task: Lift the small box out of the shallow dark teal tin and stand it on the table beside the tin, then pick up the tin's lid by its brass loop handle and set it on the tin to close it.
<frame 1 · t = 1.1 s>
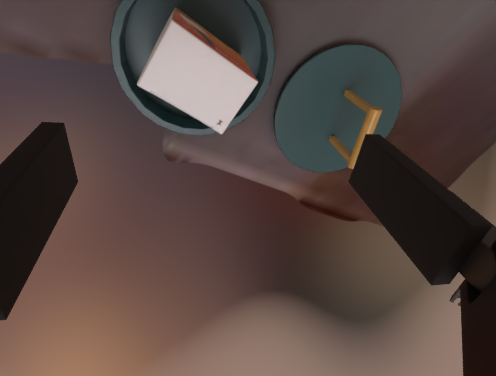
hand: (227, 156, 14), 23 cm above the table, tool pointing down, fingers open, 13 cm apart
tin: (195, 54, 32), on the table
tin lid: (337, 115, 38), point 1 cm above the table
small box: (195, 54, 32), resting on tin
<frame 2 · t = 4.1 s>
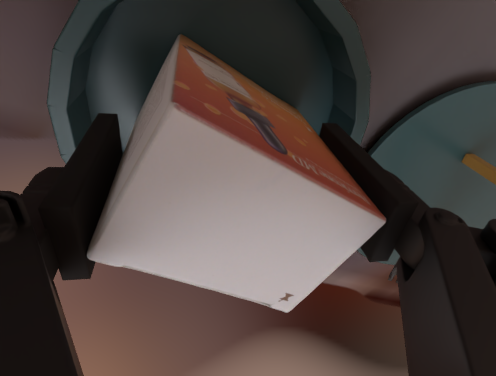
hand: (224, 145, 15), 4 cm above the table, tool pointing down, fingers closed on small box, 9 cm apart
tin: (218, 113, 18), on the table
tin lid: (442, 188, 24), point 1 cm above the table
small box: (218, 113, 18), resting on tin, touching gripper
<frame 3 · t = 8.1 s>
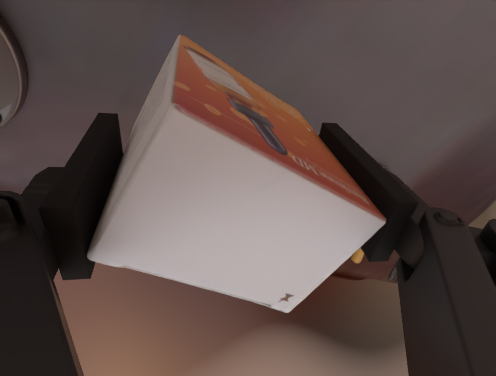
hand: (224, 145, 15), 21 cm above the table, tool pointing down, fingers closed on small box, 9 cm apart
small box: (218, 113, 18), point 17 cm above the table, touching gripper
when the fingers open (4 cm above the table, at t = 12.4 s): small box stays where it is, on the table.
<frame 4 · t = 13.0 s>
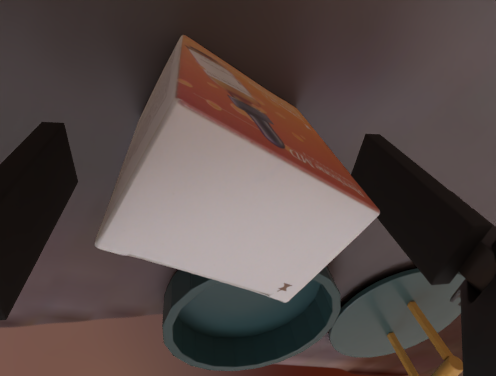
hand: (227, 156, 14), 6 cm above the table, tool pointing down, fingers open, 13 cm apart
tin: (249, 295, 29), on the table
tin lid: (397, 315, 35), point 1 cm above the table
small box: (219, 112, 18), on the table
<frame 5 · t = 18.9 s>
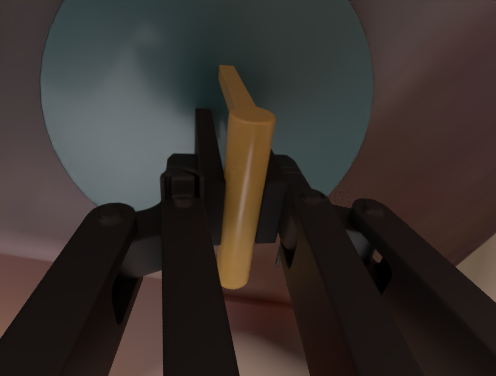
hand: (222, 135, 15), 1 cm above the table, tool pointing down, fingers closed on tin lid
tin lid: (221, 128, 16), point 1 cm above the table, touching gripper
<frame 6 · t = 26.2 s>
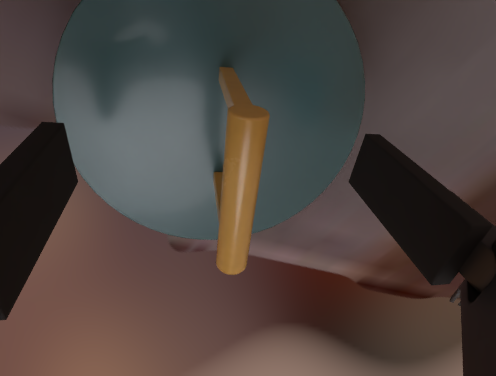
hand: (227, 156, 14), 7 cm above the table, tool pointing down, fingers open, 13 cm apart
tin lid: (221, 126, 17), point 3 cm above the table, touching tin
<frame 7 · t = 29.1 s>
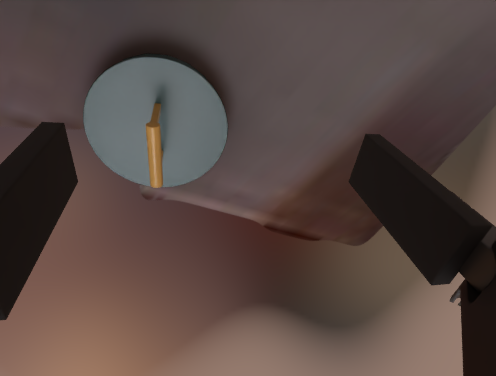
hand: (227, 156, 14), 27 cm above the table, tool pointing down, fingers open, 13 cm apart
tin lid: (159, 128, 37), point 3 cm above the table, touching tin
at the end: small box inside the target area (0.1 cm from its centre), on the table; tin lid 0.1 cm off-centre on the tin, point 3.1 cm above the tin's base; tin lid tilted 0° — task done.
